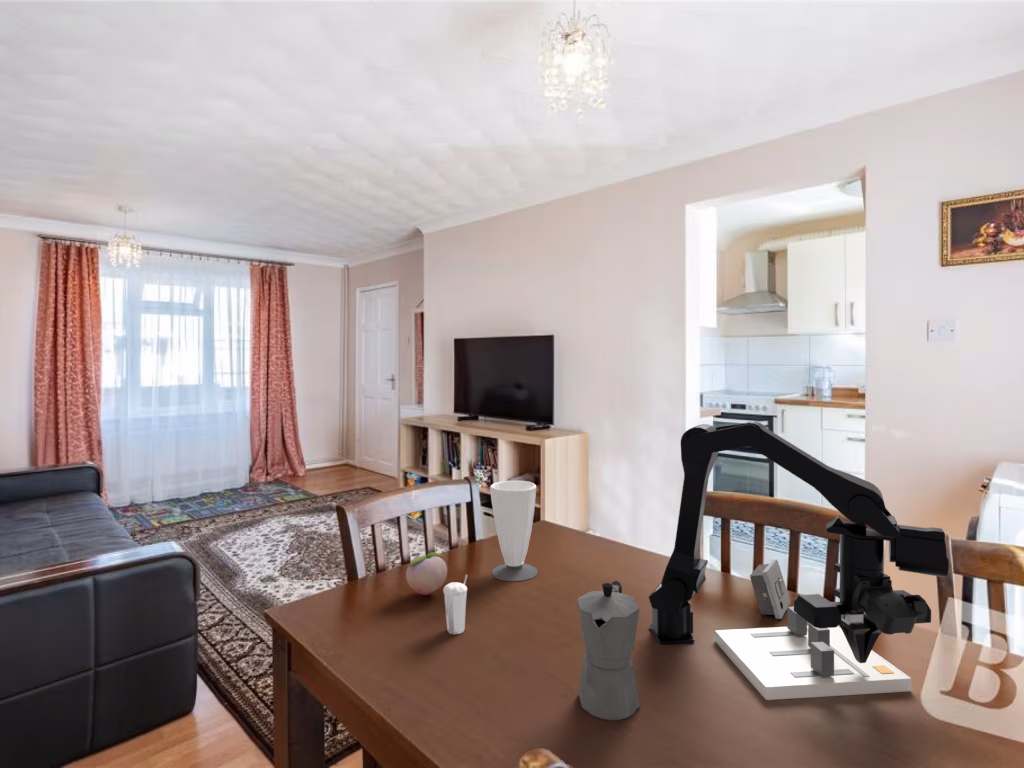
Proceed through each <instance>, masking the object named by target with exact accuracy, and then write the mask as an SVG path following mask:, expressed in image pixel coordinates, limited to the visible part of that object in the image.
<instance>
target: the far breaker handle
mask: <svg viewBox="0 0 1024 768" xmlns="http://www.w3.org/2000/svg"><path fill="white" fill-rule="evenodd" d="M786 611H787V613H786V614H787V618H786V619H787V621H786V622H787V626H786V627H787V629H789V630H790V631H791V632H792V633H793V634H795V635H796V636H801V635H807V626H808V622H807V621H806V620H805V619H804V618H802V617H801V616H800V615H798V614H797V613H796V612H794V605H793V606H789V607H787V610H786Z"/></svg>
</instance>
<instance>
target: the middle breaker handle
mask: <svg viewBox="0 0 1024 768" xmlns="http://www.w3.org/2000/svg"><path fill="white" fill-rule="evenodd" d="M807 626H808V646H809V647H810V648H811V642H824V643H825V644H826V645H828V646H829V647H830V630H829V629H828V628H817V627H814V626H813V625H811V624H810V623H809V622H807Z"/></svg>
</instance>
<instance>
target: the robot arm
mask: <svg viewBox="0 0 1024 768" xmlns="http://www.w3.org/2000/svg"><path fill="white" fill-rule="evenodd" d="M743 447H745V448H746V447H749V448H751V449H753V450H755V452H758V453H760V454H761V455H762V456H763V457H765V458H767V459H768V460H770V461H772V462H773V463H775V464H777V465H778V466H779V467H781V468H783V469H784V470H785V471H787V472H789V473H790V474H791V475H793V476H795V477H796V478H798V479H800V480H801V481H803V482H805V483H806V484H808V485H809V486H811V487H813V488H814V489H815V490H816V491H817V492H818V493H820V494H821V496H822V497H823V498H824V499H825V500H826V501H827V502H828V503H829V504H830V505H831V506H832V507H833V508H834V509H835V510H837V511H838V512H839V513H840V514H842V515H843V517H844V518H846V519H848V520H849V521H846V520H845V519H843V517H842V516H841V515H838V514H837V515H836V517H835V518H834V519H832V520H831V521H829V522H827V523H826V532H827V533H828V534H836V535H839V563H834V564H833V570H834V571H836V572H837V573H839V588H834V589H833V596H835V597H837V598H838V599H839V601H830V600H828V599H827V598H825V597H824V596H823V595H821V594H819V593H815V594H811V593H810V594H798V595H797V596H796V597H795V598H794V600H793V606H794V612H796V613H797V614H798V615H800V616H801V617H802V618H804V619H805V620H806V621H807V623H810V624H811V625H813V626H814V627H817V628H835V627H837V626H839V627H840V628H841V629H842V631H843V633H844V635H845V637H846V639H847V641H848V644H849V646H850V648H851V650H852V652H853V655H854V657H855V659H856V660H857V661H858V662H859V663H866V661H867V659H868V657H869V654H870V652H871V650H872V651H873V648H874V647H875V644H876V642H877V640H878V638H879V637H880V635H881V634H882V633H883V634H886V635H894V634H902V633H903V634H906V635H907V634H911V633H912V632H913V630H914V627H915V625H918V624H928V623H929V624H930V623H932V609H931V607H930V606H929V604H928V602H927V601H926V599H925V598H923V597H922V596H921V595H919V594H911V593H910V592H907V591H906V590H903V589H901V590H899V589H898V590H897V589H895V590H894V588H893V587H892V586H893V583H892V581H893V580H891V576H890V575H888V574H886V573H885V570H884V569H885V568H884V567H885V541H888V562H889V563H894V566H895V567H896V568H897V569H898V571H903V572H908V573H914V574H921V575H927V576H933V577H939V578H940V577H941V578H945V579H946V578H948V575H949V564H950V563H949V556H948V555H947V545H946V533H945V531H944V530H943V528H941V527H920V526H919V527H918V526H911V525H906V524H905V525H904V524H898V521H897V520H896V517H895V515H892V513H891V512H890V511H889V510H888V509H887V507H886V504H885V500H884V498H883V494H882V492H881V490H880V489H879V487H877V486H876V485H875V484H874V483H872V482H870V481H867V480H865V479H864V478H861V477H858V476H855V475H853V474H851V473H849V472H845V471H842V470H839V469H836V468H834V467H832V466H829V465H827V464H825V463H824V462H822V461H821V460H819V459H817V458H816V457H814V456H813V455H811V454H809V453H807V452H806V451H805V450H803V449H800V447H798V446H796V445H794V444H793V443H791V442H790V441H788V440H786V439H785V438H783V437H781V436H780V435H778V434H776V433H775V432H773V431H772V430H770V429H768V428H767V427H765V426H764V424H762V423H761V422H759V421H757V420H750V421H746V422H744V423H737V424H729V425H723V426H716V427H715V426H713V425H711V424H708V423H701V424H698V425H696V426H693V427H691V428H689V429H687V430H686V431H685V432H684V433H683V434H682V435H681V438H680V457H681V459H680V461H681V464H682V469H683V473H684V474H683V484H682V491H681V497H680V504H679V505H680V506H679V512H678V519H677V527H676V534H675V541H674V546H673V547H674V548H673V551H672V553H671V555H670V557H669V560H668V562H667V564H666V567H665V570H664V572H663V576H662V579H661V581H660V582H659V584H658V585H657V586H656V587H655V588H654V590H653V591H652V592H651V594H650V595H649V596H648V600H649V603H650V605H651V606H650V607H651V610H652V613H651V614H652V622H651V623H649V624H648V626H649V629H650V630H651V631H652V634H653V635H654V636H655V638H656V640H657V641H658V643H660V644H678V643H679V644H682V643H694V642H695V637H694V636H693V635H692V634H694V612H693V611H692V609H691V608H692V607H691V603H689V601H691V599H692V598H693V597H694V595H695V593H696V594H698V593H699V591H700V590H701V588H702V587H703V584H704V583H705V582H706V580H707V578H706V568H707V565H708V561H709V560H708V559H702V558H701V555H700V549H699V547H700V541H701V540H700V539H701V533H702V528H703V521H704V520H703V519H704V512H705V505H706V499H707V491H708V484H709V478H710V475H711V473H712V469H713V467H714V465H715V462H716V461H717V458H718V455H719V453H720V452H724V451H728V450H734V449H737V448H743ZM867 526H868V527H869V528H868V527H867Z"/></svg>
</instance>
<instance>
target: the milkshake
mask: <svg viewBox="0 0 1024 768" xmlns="http://www.w3.org/2000/svg"><path fill="white" fill-rule="evenodd" d="M464 577H465V578H464V580H463V583H462V582H457V581H456V582H454V581H452V582H449V583H447V584H446V585H445V586H444V587H443V589H442V592H443V599H444V600H443V601H444V606H445V608H444V610H445V618H446V619H445V620H446V628H447V632H448V633H449V635H455V636H456V635H461V634H462V633H464V631H465V628H466V626H465V625H466V610H467V608H466V607H467V594H468V587H467V585H466V583H467V578H468V574H465V576H464Z"/></svg>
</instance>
